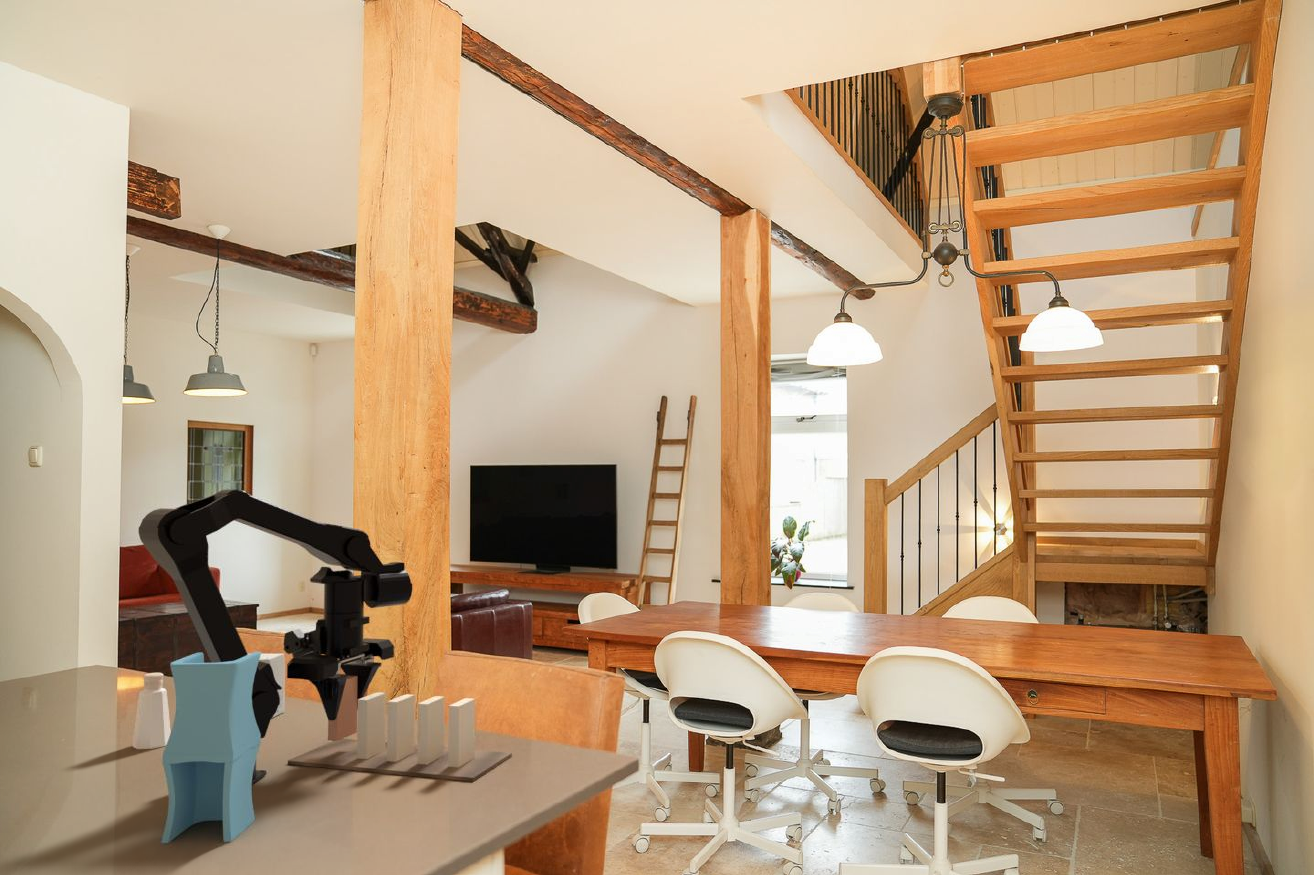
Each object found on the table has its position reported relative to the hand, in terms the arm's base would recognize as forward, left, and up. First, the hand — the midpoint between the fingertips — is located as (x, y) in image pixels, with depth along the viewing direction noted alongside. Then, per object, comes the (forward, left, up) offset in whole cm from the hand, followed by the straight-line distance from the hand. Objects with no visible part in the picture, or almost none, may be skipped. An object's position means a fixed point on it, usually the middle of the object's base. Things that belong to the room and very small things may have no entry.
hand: (342, 715), depth 136 cm
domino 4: (-5, -19, -5) cm, 21 cm away
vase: (-29, +4, -6) cm, 30 cm away
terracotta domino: (0, 0, -3) cm, 3 cm away
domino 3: (-4, -15, -5) cm, 16 cm away
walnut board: (-2, -10, -6) cm, 12 cm away
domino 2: (-2, -10, -5) cm, 11 cm away
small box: (+23, +24, -6) cm, 34 cm away
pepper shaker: (+5, +32, -6) cm, 33 cm away
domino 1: (-1, -5, -5) cm, 7 cm away
